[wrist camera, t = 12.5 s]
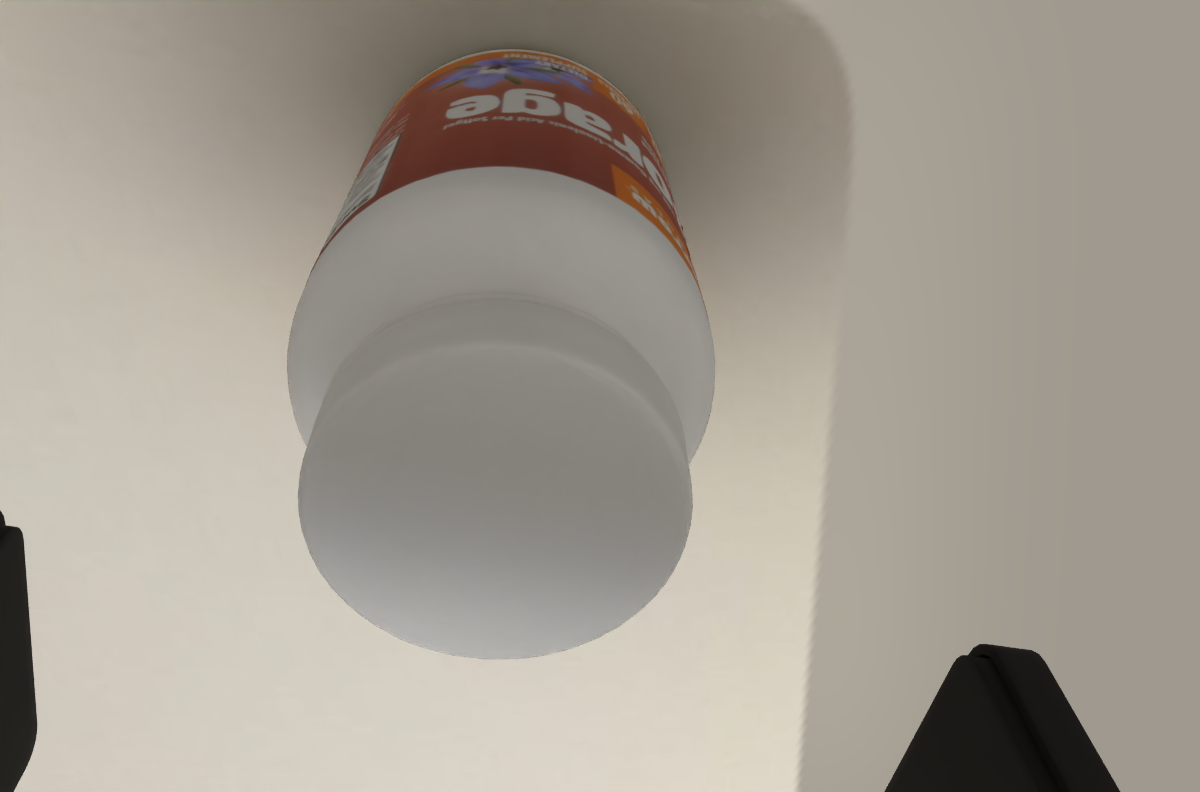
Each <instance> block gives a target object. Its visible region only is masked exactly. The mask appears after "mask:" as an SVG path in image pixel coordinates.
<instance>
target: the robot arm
mask: <svg viewBox="0 0 1200 792" xmlns="http://www.w3.org/2000/svg"><path fill="white" fill-rule="evenodd" d="M36 734H37V715H36V702H35V688H34V674H33V661H32V647H31V634H30V620H29V607H28V593H27V580H26V566H25V553H24V540H23V534H22V531H21V530H20V528H17V527H13V526H6V525H5V520H4V516H3V514H2V512H1V511H0V792H14V790H15V788H16V786H17V784H18V782H19V780H20V778H21V776H22V775H23V773H24V771H25V769H26V767H27V765H28V762H29V760H30V757H31V755H32V752H33V748H34V744H35V741H36ZM885 792H1120V791H1119V789H1118V787H1117V786H1116V784H1115V782H1114V780H1113V779H1112V777H1111V775H1110V773H1109V772H1108V770H1107V768H1106V766H1105V765H1104V763H1103V761H1102V759H1101V758H1100V756H1099V754H1098V753H1097V751H1096V749H1095V747H1094V746H1093V744H1092V742H1091V740H1090V739H1089V737H1088V735H1087V733H1086V732H1085V730H1084V728H1083V727H1082V725H1081V723H1080V721H1079V720H1078V718H1077V716H1076V714H1075V713H1074V711H1073V709H1072V708H1071V706H1070V704H1069V702H1068V701H1067V699H1066V697H1065V695H1064V694H1063V692H1062V690H1061V688H1060V687H1059V685H1058V683H1057V682H1056V680H1055V678H1054V676H1053V675H1052V673H1051V671H1050V669H1049V668H1048V666H1047V664H1046V663H1045V661H1044V660H1043V659H1042V657H1041V656H1040V655H1039V654H1038V653H1036V652H1034V651H1032V650H1025V649H1018V648H1010V647H1004V646H996V645H988V644H979V645H978V646H976V647H974V648H973V649H972V651H971V652H970V653H969V655H962V656H960V657H958V658H957V659H956V661H955V662H954V663H953V665H952V667H951V669H950V671H949V672H948V674H947V676H946V678H945V680H944V682H943V684H942V685H941V687H940V689H939V691H938V693H937V695H936V697H935V699H934V701H933V702H932V704H931V706H930V708H929V710H928V712H927V714H926V716H925V717H924V719H923V721H922V723H921V725H920V727H919V728H918V730H917V732H916V734H915V736H914V738H913V740H912V742H911V743H910V745H909V747H908V749H907V751H906V753H905V755H904V757H903V758H902V760H901V762H900V764H899V766H898V768H897V769H896V771H895V773H894V775H893V777H892V779H891V781H890V783H889V784H888V786H887V788H886V790H885Z"/></svg>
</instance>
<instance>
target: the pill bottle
mask: <svg viewBox="0 0 1200 792" xmlns="http://www.w3.org/2000/svg"><path fill="white" fill-rule="evenodd" d="M287 372H288V385H289V393H290V399H291V404H292V408H293V413H294V417H295V420H296V423H297V426H298V429H299V432H300V434H301V436H302V438H303V440H304V442H305V444H306V446H307V448H306V452H305V455H304V458H303V463H302V467H301V471H300V479H299V489H298V506H299V517H300V523H301V528H302V532H303V535H304V538H305V541H306V544H307V546H308V549H309V552H310V554H311V556H312V558H313V560H314V562H315V564H316V566H317V568H318V570H319V571H320V573H321V574H322V576H323V577H324V578H325V580H326V581H327V582H328V584H329V585H330V586H331V588H332V589H333V590H334V591H335V592H336V593H337V594H338V595H339V596H340V597H341V598H342V599H343V600H344V601H345V602H346V603H347V604H348V605H349V606H350V607H351V608H352V609H354V610H355V611H356V612H357V613H358V614H360V615H361V616H362V617H364V618H365V619H367V620H368V621H370V622H371V623H373V624H374V625H376V626H377V627H379V628H381V629H382V630H384V631H386V632H388V633H390V634H392V635H393V636H395V637H397V638H399V639H401V640H404V641H406V642H408V643H411V644H414V645H417V646H420V647H423V648H426V649H430V650H433V651H437V652H441V653H445V654H449V655H453V656H461V657H469V658H478V659H522V658H531V657H538V656H544V655H548V654H551V653H555V652H560V651H565V650H568V649H571V648H574V647H577V646H579V645H582V644H584V643H587V642H589V641H592V640H594V639H596V638H599V637H601V636H603V635H604V634H606V633H608V632H610V631H612V630H614V629H615V628H617V627H619V626H620V625H622V624H623V623H624V622H626V621H627V620H628V619H630V618H631V617H632V616H634V615H635V614H636V613H638V612H639V611H640V610H641V609H642V608H644V607H645V606H646V605H647V604H648V603H649V602H650V601H651V600H652V599H653V598H654V597H655V596H656V595H657V593H658V592H659V591H660V589H661V588H662V587H663V586H664V585H665V584H666V582H667V580H668V579H669V577H670V576H671V574H672V573H673V571H674V569H675V567H676V565H677V563H678V561H679V559H680V557H681V555H682V552H683V550H684V547H685V544H686V540H687V537H688V533H689V529H690V526H691V518H692V508H693V504H692V484H691V477H690V471H689V464H690V462H691V460H692V458H693V456H694V455H695V453H696V450H697V448H698V446H699V444H700V442H701V439H702V437H703V435H704V432H705V430H706V426H707V423H708V420H709V416H710V412H711V407H712V400H713V394H714V383H715V356H714V346H713V340H712V335H711V330H710V326H709V321H708V316H707V311H706V308H705V305H704V301H703V298H702V295H701V291H700V288H699V284H698V280H697V277H696V273H695V271H694V268H693V265H692V262H691V258H690V254H689V250H688V248H687V245H686V241H685V237H684V235H683V227H682V226H681V224H680V221H679V217H678V214H677V211H676V207H675V204H674V200H673V197H672V194H671V190H670V187H669V183H668V179H667V176H666V172H665V169H664V165H663V162H662V159H661V155H660V153H659V150H658V147H657V145H656V143H655V140H654V138H653V136H652V134H651V132H650V130H649V128H648V126H647V125H646V123H645V121H644V120H643V118H642V117H641V115H640V114H639V112H638V111H637V110H636V108H635V107H634V106H633V105H632V103H631V102H630V101H629V100H628V99H627V98H626V97H625V96H624V95H623V94H622V93H621V92H620V91H619V90H618V89H617V88H616V87H615V86H614V85H612V84H611V83H610V82H609V81H607V80H606V79H605V78H603V77H602V76H600V75H599V74H598V73H596V72H594V71H592V70H591V69H589V68H587V67H585V66H583V65H581V64H579V63H578V62H575V61H572V60H570V59H567V58H564V57H561V56H557V55H554V54H551V53H545V52H539V51H533V50H522V49H501V50H491V51H484V52H479V53H475V54H470V55H467V56H464V57H461V58H458V59H456V60H453V61H451V62H449V63H447V64H445V65H442V66H441V67H439V68H437V69H436V70H434V71H432V72H431V73H429V74H428V75H426V76H424V77H423V78H422V79H420V80H419V81H418V82H417V83H416V84H414V85H413V86H412V87H411V88H410V89H409V90H408V91H407V92H406V93H405V94H404V95H403V96H402V97H401V98H400V99H399V101H398V102H397V103H396V105H395V106H394V107H393V108H392V110H391V111H390V113H389V114H388V116H387V118H386V119H385V121H384V122H383V124H382V125H381V127H380V129H379V131H378V132H377V134H376V137H375V139H374V141H373V143H372V145H371V147H370V149H369V152H368V154H367V156H366V158H365V160H364V162H363V164H362V166H361V169H360V171H359V173H358V175H357V177H356V179H355V181H354V183H353V185H352V187H351V189H350V192H349V193H348V196H347V198H346V200H345V202H344V205H343V207H342V209H341V211H340V214H339V216H338V218H337V220H336V222H335V224H334V226H333V228H332V230H331V233H330V235H329V237H328V239H327V240H326V243H325V245H324V247H323V249H322V250H321V252H320V255H319V257H318V259H317V261H316V263H315V265H314V267H313V269H312V271H311V273H310V276H309V278H308V280H307V283H306V286H305V288H304V291H303V293H302V295H301V298H300V300H299V302H298V305H297V308H296V311H295V315H294V318H293V322H292V327H291V331H290V338H289V344H288V352H287Z"/></svg>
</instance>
